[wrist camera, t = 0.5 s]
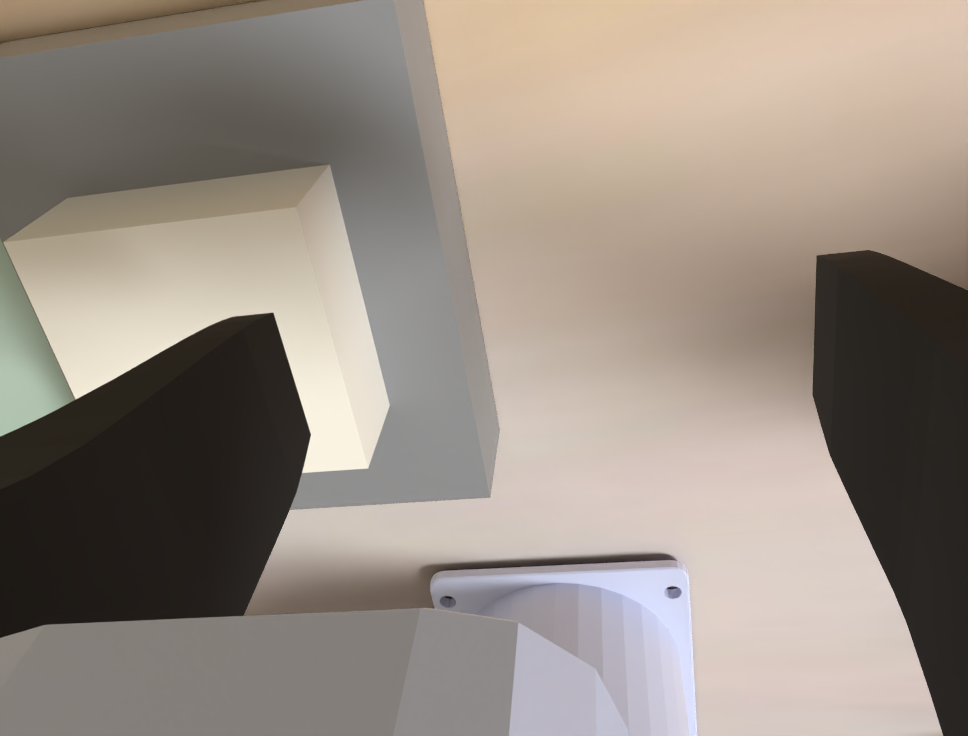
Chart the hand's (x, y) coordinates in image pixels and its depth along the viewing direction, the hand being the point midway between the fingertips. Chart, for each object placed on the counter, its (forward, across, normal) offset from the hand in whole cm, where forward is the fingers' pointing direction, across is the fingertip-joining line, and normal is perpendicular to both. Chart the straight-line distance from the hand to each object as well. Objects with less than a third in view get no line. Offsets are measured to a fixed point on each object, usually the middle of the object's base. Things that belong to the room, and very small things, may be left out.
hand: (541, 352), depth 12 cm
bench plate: (+10, +8, +2) cm, 13 cm away
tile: (+7, +8, +2) cm, 11 cm away
